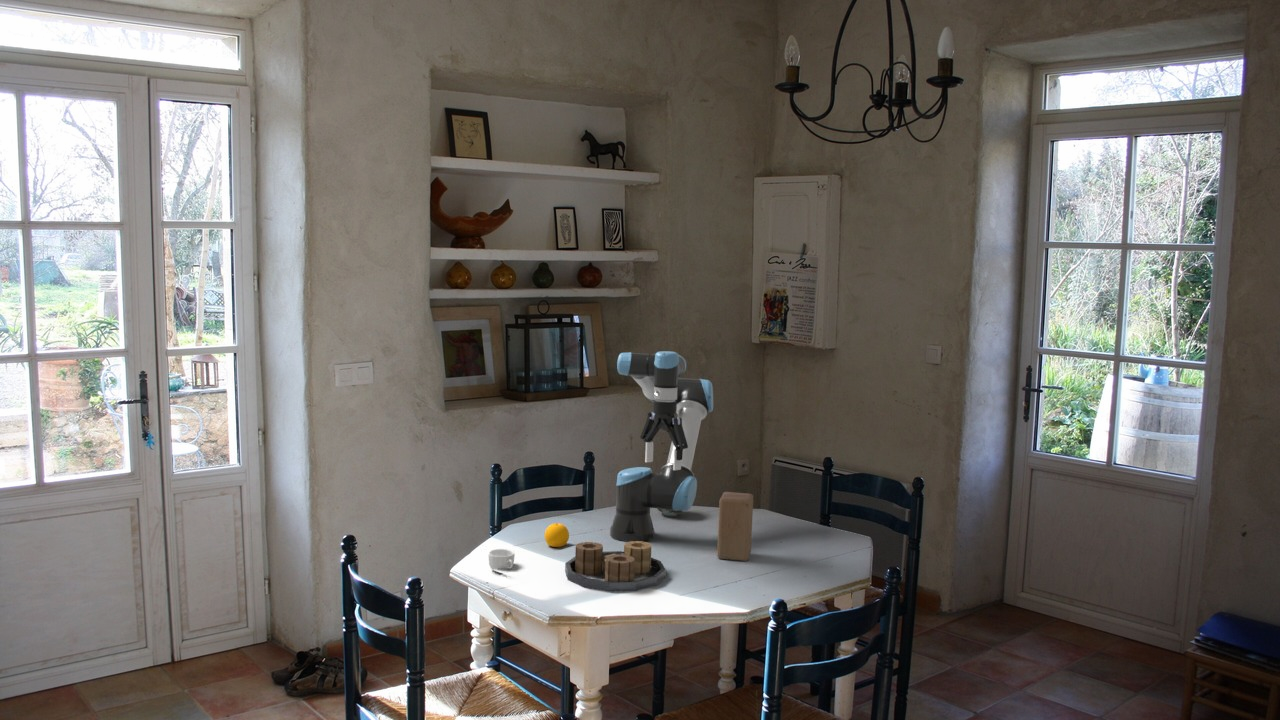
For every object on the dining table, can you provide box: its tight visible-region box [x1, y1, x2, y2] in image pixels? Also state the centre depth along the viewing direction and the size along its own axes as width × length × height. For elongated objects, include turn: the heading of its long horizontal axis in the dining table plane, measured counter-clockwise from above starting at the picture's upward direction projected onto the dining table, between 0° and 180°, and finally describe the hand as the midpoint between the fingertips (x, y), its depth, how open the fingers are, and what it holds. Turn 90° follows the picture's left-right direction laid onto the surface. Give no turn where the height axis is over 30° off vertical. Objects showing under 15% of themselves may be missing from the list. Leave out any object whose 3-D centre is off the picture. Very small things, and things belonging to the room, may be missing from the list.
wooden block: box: [716, 491, 754, 562], centre depth 317 cm, size 10×10×20 cm
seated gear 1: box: [574, 541, 604, 575], centre depth 294 cm, size 8×8×8 cm
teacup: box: [488, 548, 515, 573], centre depth 295 cm, size 10×8×5 cm
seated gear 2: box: [605, 554, 635, 581], centre depth 282 cm, size 8×8×8 cm
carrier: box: [564, 550, 666, 593], centre depth 291 cm, size 29×29×8 cm
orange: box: [544, 522, 570, 548], centre depth 322 cm, size 8×8×8 cm
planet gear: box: [623, 541, 652, 574], centre depth 296 cm, size 8×8×8 cm
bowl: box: [656, 508, 683, 518], centre depth 365 cm, size 14×13×8 cm
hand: (662, 465), depth 315 cm, fingers open, 13 cm apart
